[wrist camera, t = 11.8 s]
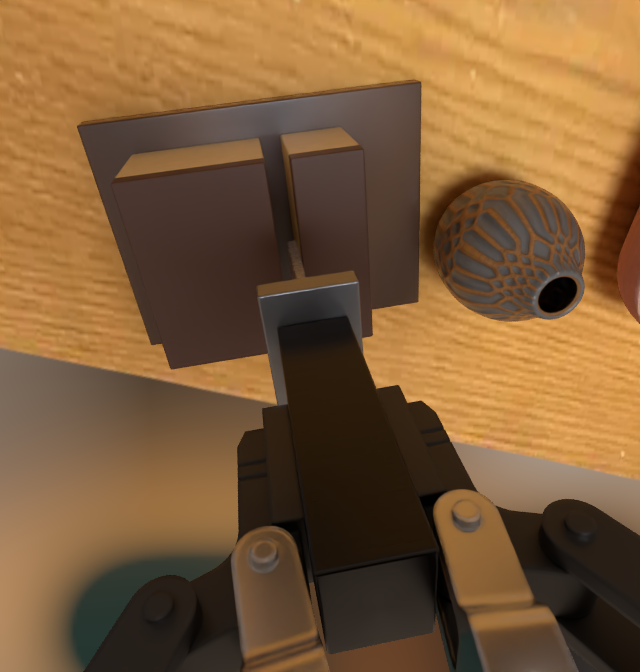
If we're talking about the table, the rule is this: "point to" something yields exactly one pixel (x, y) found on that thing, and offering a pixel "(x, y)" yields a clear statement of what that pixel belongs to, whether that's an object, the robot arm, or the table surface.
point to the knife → (348, 466)
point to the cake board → (268, 124)
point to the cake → (202, 246)
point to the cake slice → (329, 206)
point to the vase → (511, 252)
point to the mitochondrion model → (630, 269)
